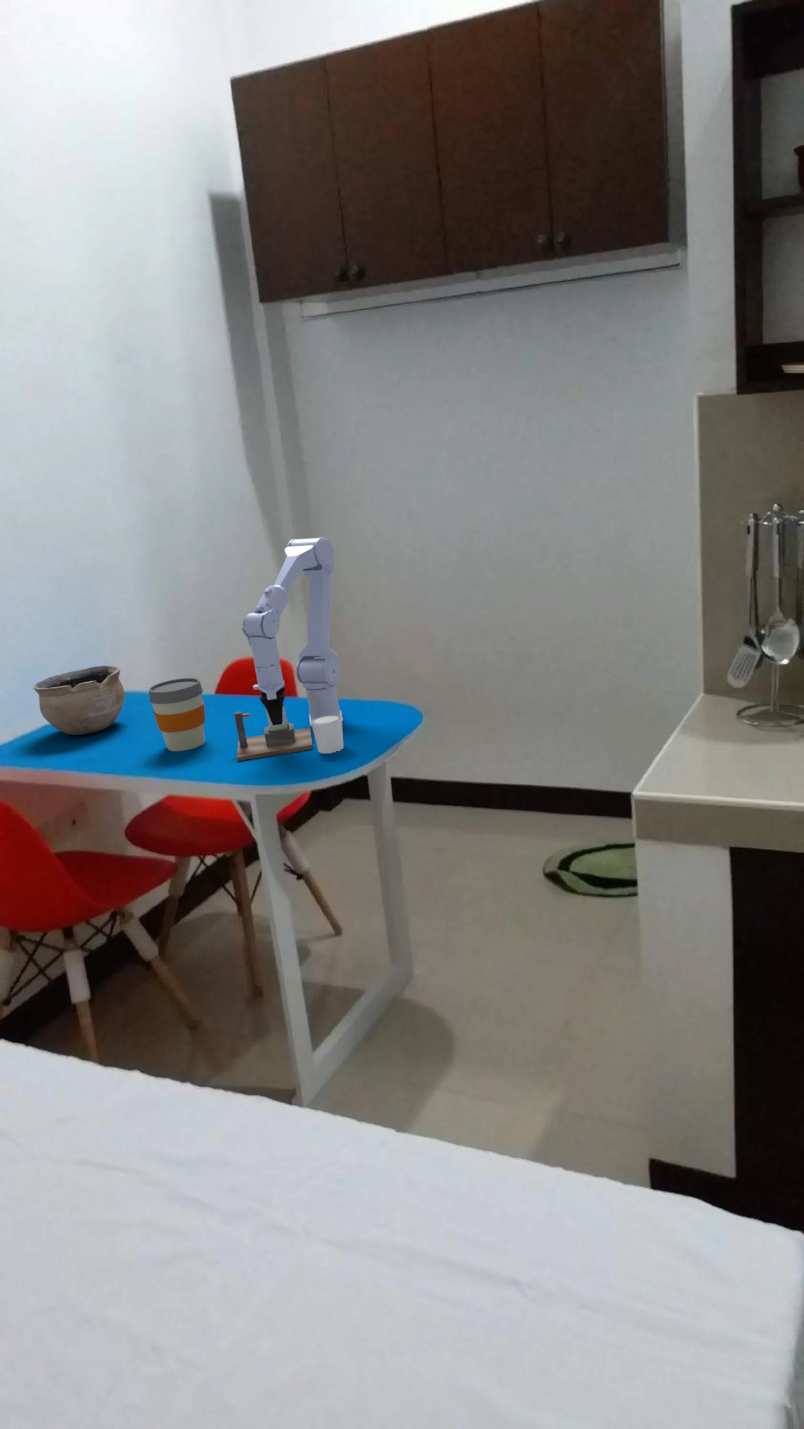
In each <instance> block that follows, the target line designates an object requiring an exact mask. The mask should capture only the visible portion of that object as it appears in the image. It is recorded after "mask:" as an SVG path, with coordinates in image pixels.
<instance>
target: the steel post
mask: <svg viewBox="0 0 804 1429" xmlns="http://www.w3.org/2000/svg"><path fill="white" fill-rule="evenodd" d="M285 709H286V708H285V703H284V702H283V707H282V724H281V725H275V726H273V724H272V722H271V720H270V717H269V714H268V712H267V710H266V709H265V710H266V711H265V712H266V716H267V723H268V726H269V731H270V733H272V732H278V731H284V730H288V725H287V723H288V719H287V716H286V710H285Z"/></svg>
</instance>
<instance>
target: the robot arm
mask: <svg viewBox="0 0 804 1429" xmlns="http://www.w3.org/2000/svg"><path fill="white" fill-rule="evenodd" d="M284 558H285V560H284V562H283V564H282V567H281V569H280V571H279V572H278V573H279V574H278V575H277V578H276V580H275V582H274V584H273V585H270V586H267V587H266V588H264V590H263V593H262V596H261V597H260V599H259V600H258V602H257V605H256V606H255V608H254V609H253V612H250V613H248V614H247V615H246V616H245V617H244V619H243V622H242V627H241V630H242V633H243V635H244V637H246V639H247V643H248V645H249V646H250V648H251V651H252V658H253V663H254V669H255V674H256V681H257V684H254V685H252V688H253V690H259V691H260V694H261V696H259V700H260V702H261V703H262V705H263V707H264V708H265V710H267V712H268V714H269V717H270V720H271V722H272V724H273V726H275V725H281V724H282V707H283V703H284V701H285V698H286V694H285V690H286V688H285V680H284V678H283V672H282V667H281V666H282V665H281V660H280V656H279V655H280V654H279V649H278V643H277V638H276V636H277V634H278V633H279V631H280V622H281V618H282V617H281V615H282V614H283V612H284V610H285V608H286V606H287V604H288V603H289V600H290V597H289V594H288V592H289V591H290V589H291V588H292V586H293V584H294V583H295V582H296V580H297V578H298V577H299V576H300V574H302V575H305V576H306V577H307V578H308V580H309V590H308V591H309V592H308V593H309V594H308V615H307V616H308V617H307V620H308V621H307V641H306V642H307V644H306V646H304V647H303V649H301V651H300V652H299V653H298V659H297V663H296V665H295V676H296V679H297V681H298V682H299V683H300V684H302V687H303V689H304V688H305V691H306V700H307V703H308V710H309V715H308V718H309V725H310V726H309V728H312V724H311V721H312V720H314V719H316V718H319V717H322V716H328V715H338V716H341V718H342V723H343V722H344V718H343V714H342V710H340V705H339V697H338V691H337V684H338V683H339V680H340V677H341V674H342V670H341V665H340V657H339V656H340V655H339V653H338V652H337V651H336V650H334V649H333V648H332V647H331V646H330V641H331V640H330V637H331V618H332V617H331V615H332V595H333V594H332V593H333V591H332V589H333V573H334V562H335V548H334V546H333V544H332V543H331V542H330V540H329V538H327V537H325V536H320V537H314V538H313V537H311V538H292V539H290V540H289V541H288V543H287V545H286V548H284ZM267 712H266V713H267Z"/></svg>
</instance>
